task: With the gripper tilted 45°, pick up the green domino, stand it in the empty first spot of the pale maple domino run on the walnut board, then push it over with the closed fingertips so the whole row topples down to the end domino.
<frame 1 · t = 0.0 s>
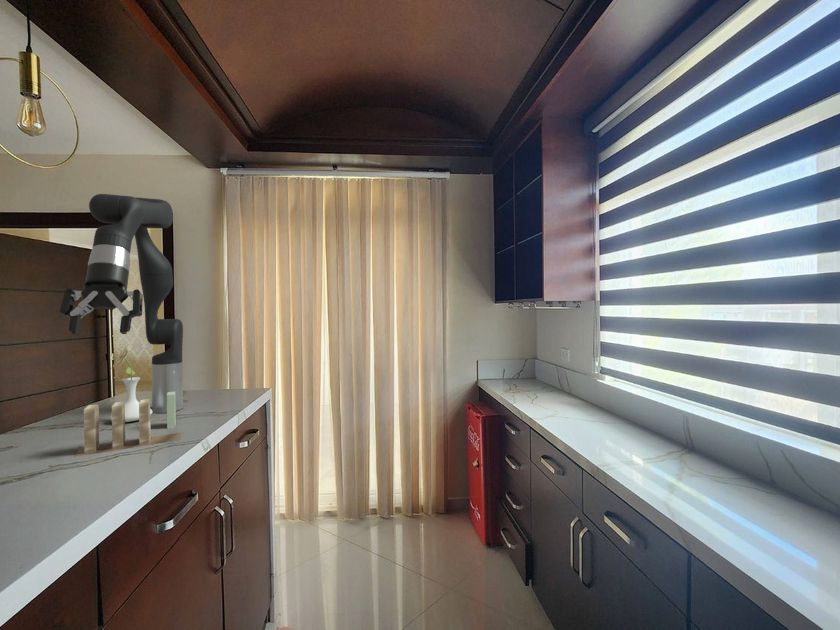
hand: (99, 333, 83), 31 cm above the worktop, tool tilted 20°, fingers open, 8 cm apart
domino 2: (145, 441, 101), point 1 cm above the worktop, touching board
domino 3: (119, 445, 98), point 1 cm above the worktop, touching board
flower in vase: (131, 421, 123), on the worktop
green domino: (171, 428, 115), on the worktop
end domino: (92, 449, 95), point 1 cm above the worktop, touching board
board: (132, 447, 100), on the worktop
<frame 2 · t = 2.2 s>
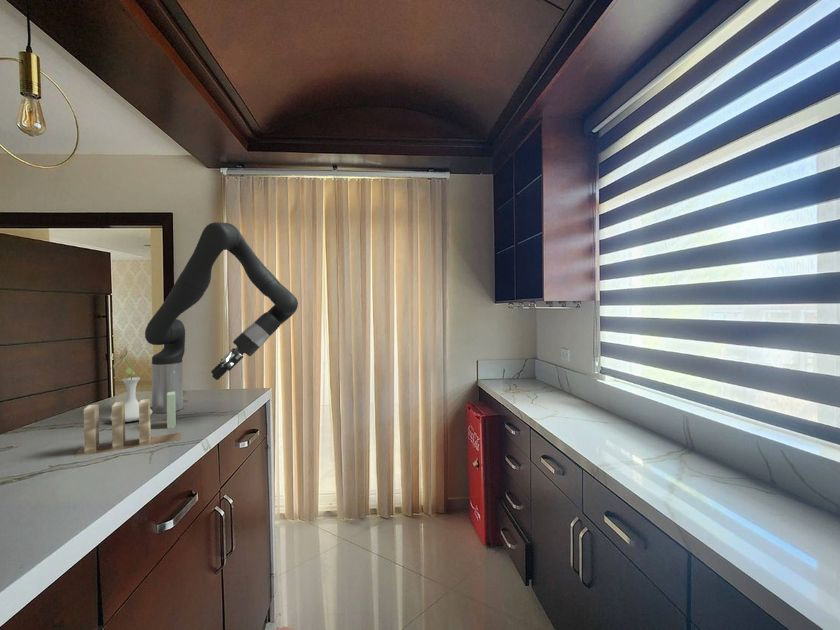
hand: (213, 376, 121), 15 cm above the worktop, tool tilted 45°, fingers open, 8 cm apart
nothing on the worktop moved.
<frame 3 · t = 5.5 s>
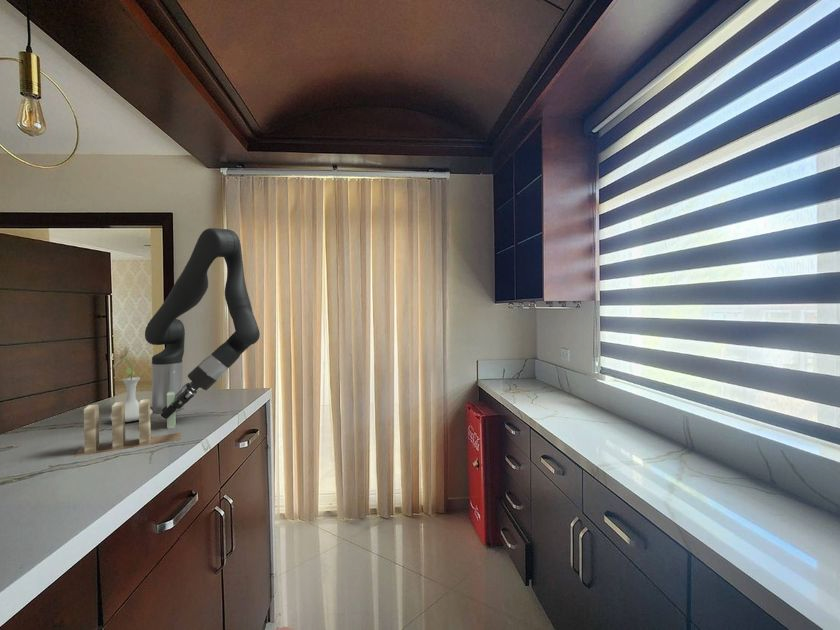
hand: (164, 414, 114), 5 cm above the worktop, tool tilted 45°, fingers closed on green domino, 5 cm apart
green domino: (171, 428, 115), on the worktop, touching gripper
everything else where it was.
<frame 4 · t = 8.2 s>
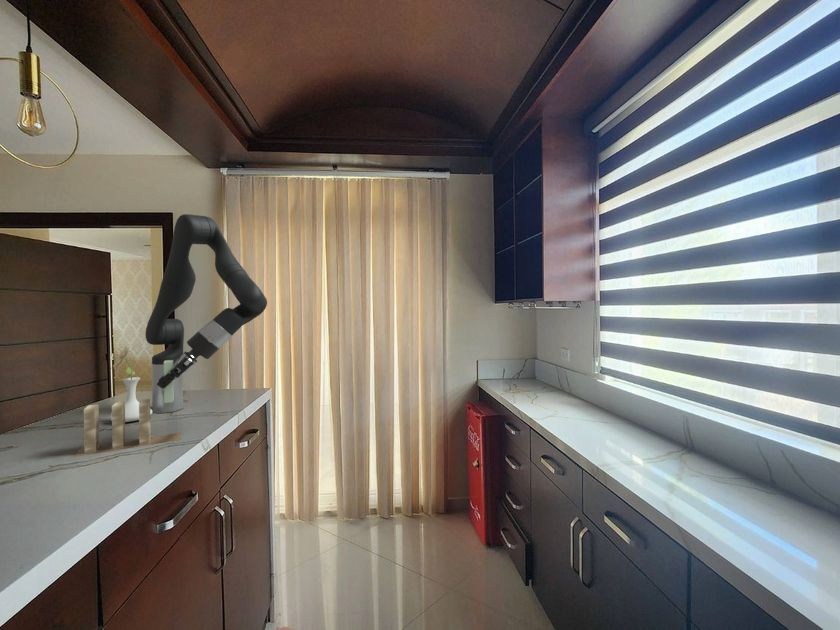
hand: (160, 384, 103), 16 cm above the worktop, tool tilted 45°, fingers closed on green domino, 5 cm apart
green domino: (169, 400, 104), point 11 cm above the worktop, touching gripper
everything else where it was.
when the fingers open (7 cm above the worktop, at t = 10.8 s): green domino drops 1 cm, resting on board.
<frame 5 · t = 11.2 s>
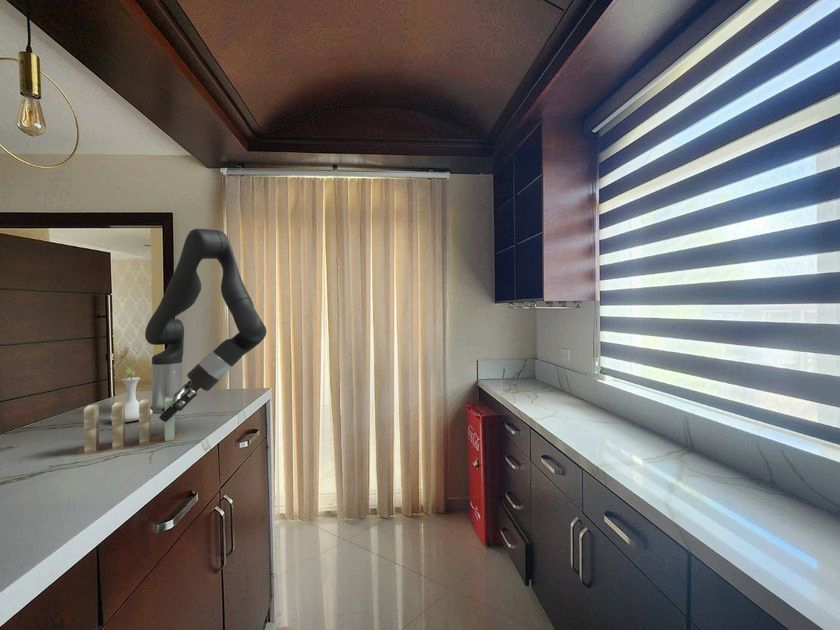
hand: (163, 415, 103), 7 cm above the worktop, tool tilted 45°, fingers open, 8 cm apart
green domino: (169, 437, 104), point 1 cm above the worktop, touching board
everything else where it was.
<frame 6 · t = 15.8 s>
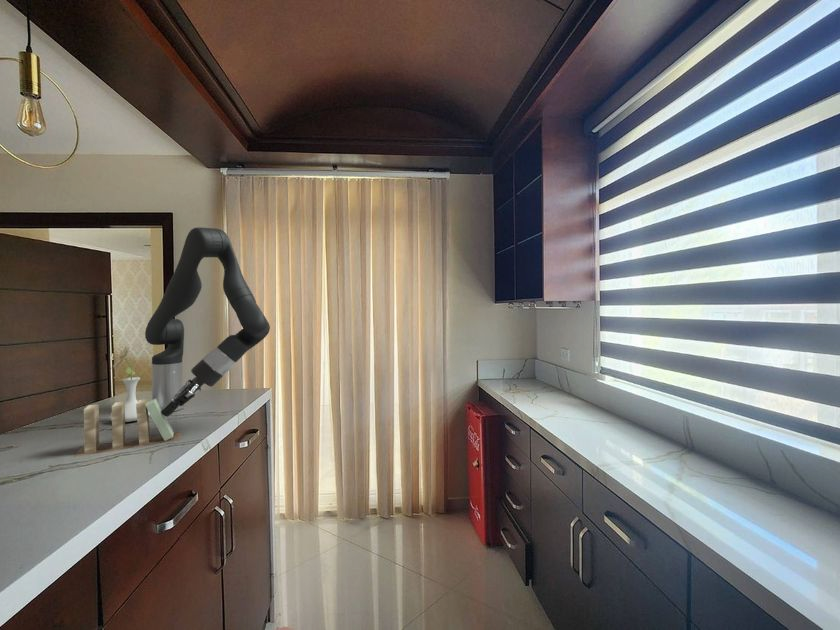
hand: (164, 414, 103), 8 cm above the worktop, tool tilted 45°, fingers closed
green domino: (169, 436, 104), point 1 cm above the worktop, tilted 22°, touching board
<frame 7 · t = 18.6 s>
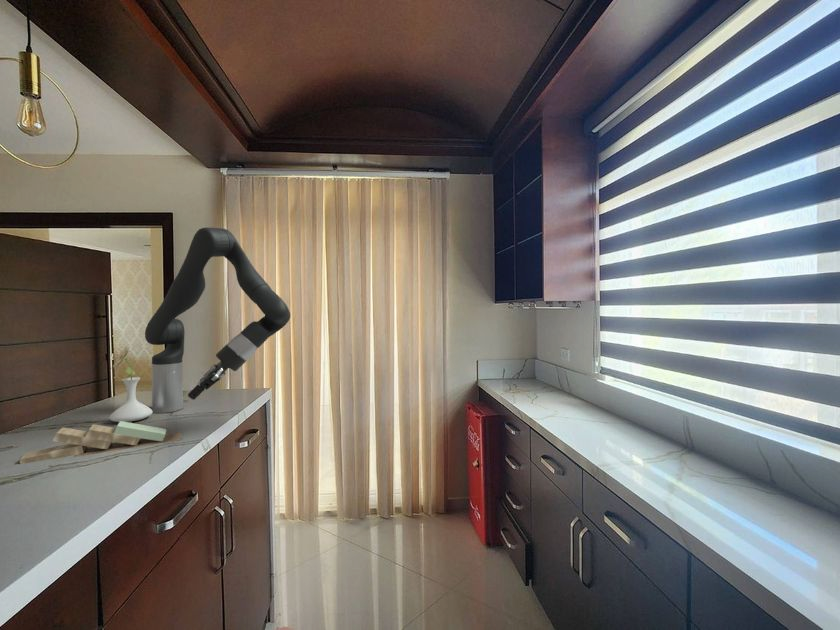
hand: (190, 397, 106), 12 cm above the worktop, tool tilted 45°, fingers closed
domino 2: (139, 439, 100), point 2 cm above the worktop, tilted 69°, touching board, domino 3, green domino
domino 3: (111, 442, 97), point 2 cm above the worktop, tilted 68°, touching domino 2, end domino
green domino: (164, 435, 103), point 2 cm above the worktop, tilted 69°, touching board, domino 2
end domino: (84, 446, 95), point 2 cm above the worktop, tilted 96°, touching board, domino 3
everything else where it was.
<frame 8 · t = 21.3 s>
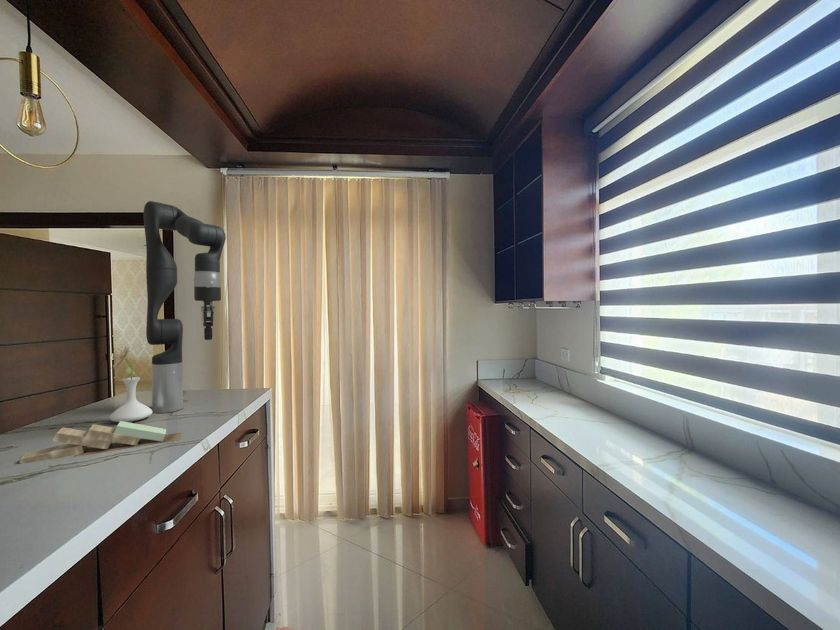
hand: (208, 339, 121), 27 cm above the worktop, tool pointing down, fingers closed
nothing on the worktop moved.
at the end: end domino tilted 96°; green domino tilted 69°; green domino 7.1 cm from the board (horizontally) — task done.
